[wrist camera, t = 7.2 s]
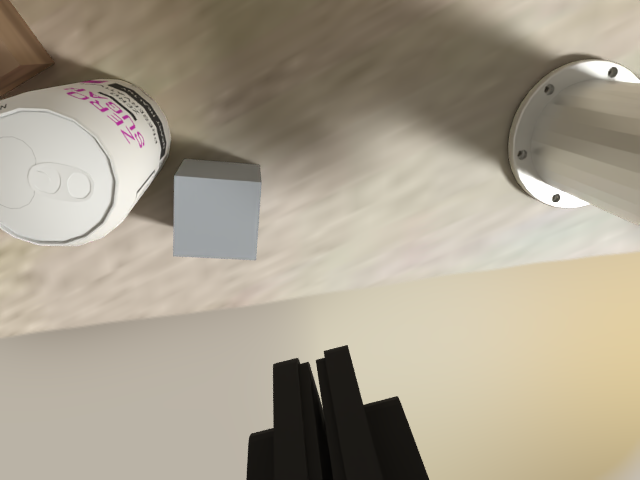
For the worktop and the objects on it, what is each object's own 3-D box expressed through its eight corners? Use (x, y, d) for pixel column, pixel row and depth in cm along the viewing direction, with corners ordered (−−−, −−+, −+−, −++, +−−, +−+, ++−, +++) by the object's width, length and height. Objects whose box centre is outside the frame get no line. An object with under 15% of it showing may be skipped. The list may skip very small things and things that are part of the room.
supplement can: (57, 174, 39) (-49, 243, 25) (64, 66, 36) (-50, 74, 22) (164, 194, 40) (121, 268, 27) (178, 91, 38) (138, 114, 24)
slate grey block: (259, 164, 41) (261, 182, 35) (254, 233, 43) (255, 260, 37) (184, 158, 40) (174, 175, 34) (183, 228, 42) (173, 256, 36)
